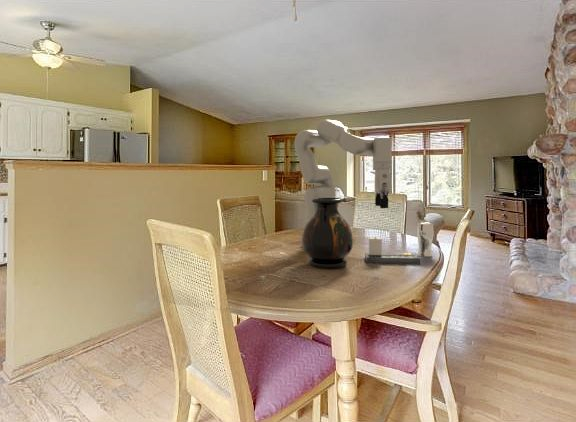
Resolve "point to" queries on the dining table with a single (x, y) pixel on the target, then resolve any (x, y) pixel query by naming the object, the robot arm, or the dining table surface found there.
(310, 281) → the dining table surface
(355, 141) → the robot arm
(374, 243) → the fader knob
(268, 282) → the dining table surface
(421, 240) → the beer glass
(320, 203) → the dark decorated vase
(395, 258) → the fader console
